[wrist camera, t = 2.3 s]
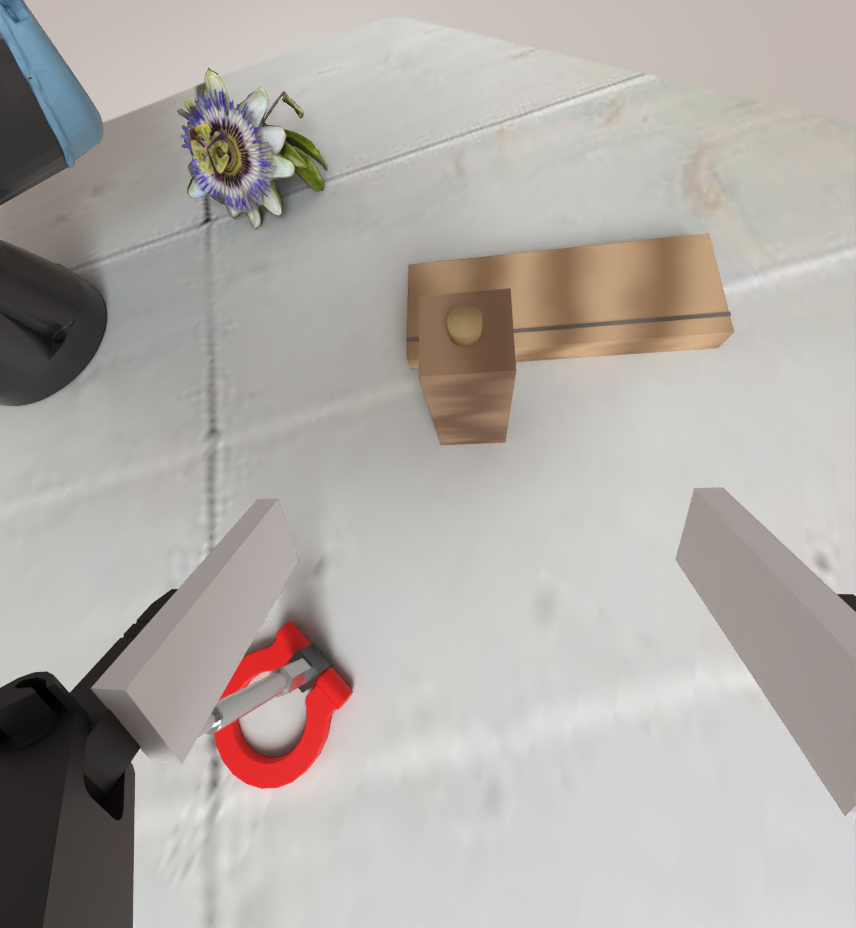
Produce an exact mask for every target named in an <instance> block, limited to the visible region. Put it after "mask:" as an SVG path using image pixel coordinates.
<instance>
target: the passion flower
mask: <svg viewBox="0 0 856 928" xmlns="http://www.w3.org/2000/svg"><path fill="white" fill-rule="evenodd" d="M282 96H283V99H282V100H283V102H285V103H287V104H288V105H290V106H291V107H292V108H294V110H295V111H296V113H297V114H298V116H299V117H300V118H302V117H303V116H304V112H303V110H302V109H301V108H300V107H299V106H298V105H297V104H296V103H295V102H294V101H293V100H292V99H290V98H289V97H288V95H287V94H286V93H285V91H284V92H282V94H281V95H280V96H279V97H278V98H277V100H276V101H275V103H274V104H273V105H272V107H271V108H270V110H269V111H268V113H267V115H266V117H265V119H264V116H265V113H266V111H267V106H268V101H269V100H268V96H267V93H266V91H265V90H264V89H263V88H258V89H257V90H256V91H254V92H253V93H251V94H249V96H248V97H247V98H246V100H245V101H244V102H242V103H241V104H240V105H239V104H238V105H237V108H236V109H235V108H234V106H233V100H232V103H231V102H230V100H229V96H228V94H227V91H226V89H225V86H224V84H223V82H222V81H221V79H220V77H219V75H218V74H217V73H216V72H214V71H212V70H210V68H208V71H207V72H206V75H205V92H204V97H203V95H202V94H200V95H199V97H198V99H199V100H198V101H196V100H195V99H194V100H195V102H193V101H186V102H185V107H186V108H187V110H188V111H189V113H190V114H189V113H187V112H185V111H183V110H182V109H178V110H177V112H178V114H180V115H181V116H183V117H185V118H186V119H187V120H189V121H188V123H187V124H188V127H185V126H182V129H183V130H184V131H185V135H181V137H183V138H184V139H185V140H184V142H185V143H186V144H183V145H182V147H184V148H188V149H189V150H190V152H191V155H192V161H191V163H190V164H189V165H188V169H189V171H190V173H191V176H192V179H191V181H190V183H189V186H188V189H187V193H188V195H189V196H190V197H191V198H202V197H204V196H205V195H210V196H211V197H212V198H214V199H215V200H217V201H218V202H220V203H221V204H226V207H227V210H228V212H229V213H230V215H231V217H232V218H233V219H235V218H236V217H238V216H239V215H240V214H241V213H245V214H247V216H248V218H249V221H250V223H251V224H252V226H253V228H254V229H257V228H259V227H260V226H261V222H262V213H261V209H260V206H262V205H263V206H264V207H266V209H267V210H268V211H270V213H272V214H275V215H277V216H281V213H282V209H283V204H282V200H281V197H280V195H279V193H278V191H277V189H276V184H275V180H276V179H279V178H282V179H283V178H289V177H291V176H293V174H294V171H295V173H296V174H298V175H299V176H300V177H301V178H302V179H303V180H304V181H305V182H306V183H307V184H308V185H309V186H310V187H311V188H313V189H314V190H315V191H316V192H318V191H320V190H321V191H323V189H324V183H323V179H322V177H321V176H320V174H319V172H318V169H317V168H316V166H315V165H314V163H313V162H312V161H311V160H310V158H309V157H308V156H306V155H305V154H303V153H302V152H301V151H299V150H298V149H297V148H299V149H300V150H302V151H303V152H305V153H306V154H308V155H310V156H311V157H312V158H313V159H315V160H316V161H318V162H319V163H320V164H321V165H322V166H323V167H324V169H325V170H327V166H326V164H325V162H324V160H323V158H322V156H321V155H320V153H319V151H318V150H317V149H316V148H315V146H314V144H313V143H312V142H311V141H310V140H308V139H307V138H306V137H304V136H302V135H300V134H298V133H295V132H292V131H288V130H284V129H282V128H281V127H279V126H273V125H267V124H265V120H266V119H267V117H268V116H269V114H270V113H271V111H272V109H273V108H274V107H275V105H276V104H277V103H278V101H279V99H280V98H281V97H282ZM294 146H295V147H297V148H295V147H294Z"/></svg>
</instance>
